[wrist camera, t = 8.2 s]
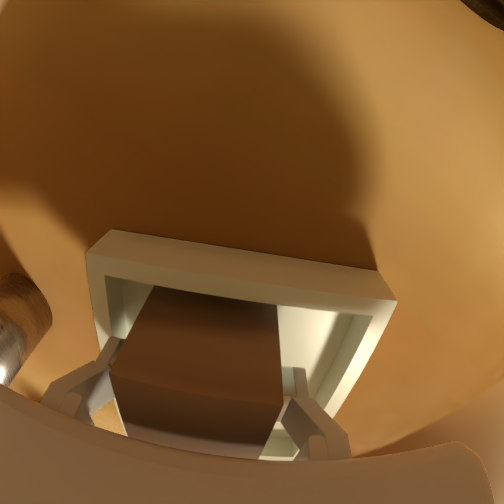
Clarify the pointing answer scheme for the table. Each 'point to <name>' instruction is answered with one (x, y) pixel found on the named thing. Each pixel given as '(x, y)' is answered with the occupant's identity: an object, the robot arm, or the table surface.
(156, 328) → the walnut block
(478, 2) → the container
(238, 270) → the tray
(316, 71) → the table surface
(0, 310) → the metal cylinder
